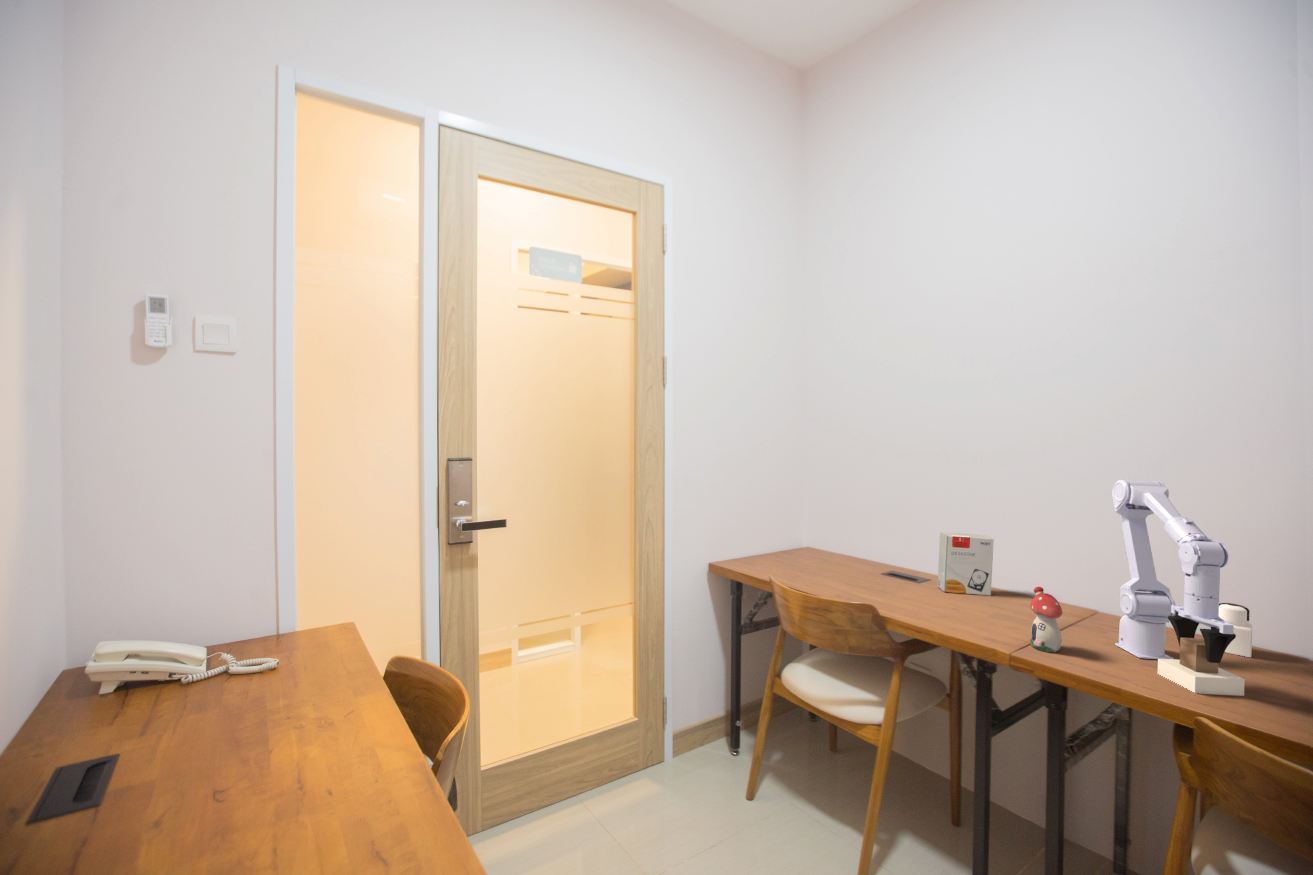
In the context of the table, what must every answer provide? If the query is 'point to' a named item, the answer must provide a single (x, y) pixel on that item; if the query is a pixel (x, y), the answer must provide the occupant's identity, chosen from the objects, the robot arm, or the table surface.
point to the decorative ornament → (1045, 622)
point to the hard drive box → (965, 563)
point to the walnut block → (1195, 656)
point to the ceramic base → (1201, 679)
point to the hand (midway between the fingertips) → (1199, 655)
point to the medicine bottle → (1238, 628)
